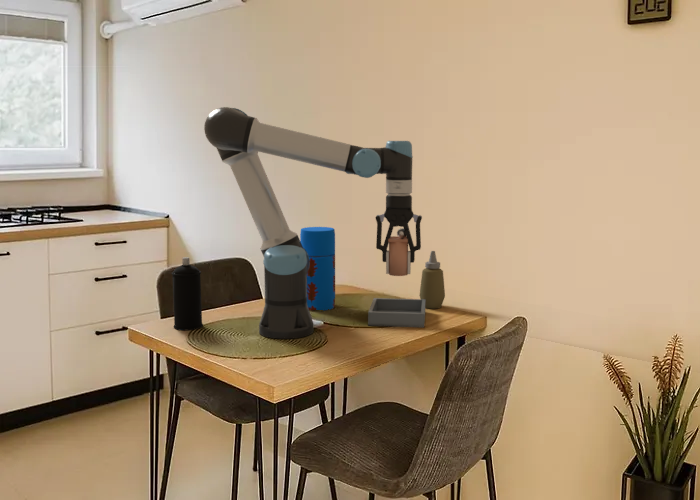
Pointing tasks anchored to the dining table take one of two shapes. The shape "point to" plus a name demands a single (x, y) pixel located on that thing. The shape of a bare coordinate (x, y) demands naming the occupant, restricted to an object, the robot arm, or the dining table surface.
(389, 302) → the tray
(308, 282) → the thermos
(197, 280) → the aerosol can
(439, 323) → the dining table surface
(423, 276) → the squeeze bottle
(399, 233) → the ball
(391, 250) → the shaker
